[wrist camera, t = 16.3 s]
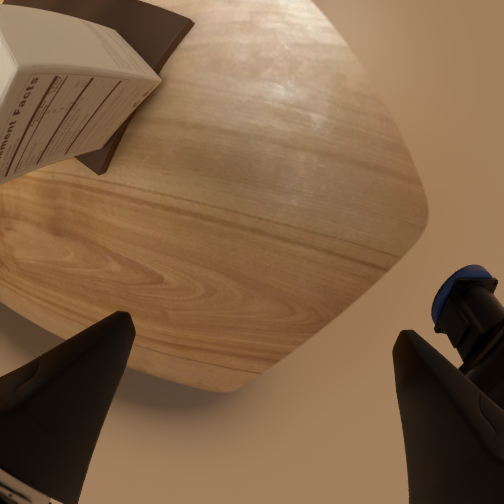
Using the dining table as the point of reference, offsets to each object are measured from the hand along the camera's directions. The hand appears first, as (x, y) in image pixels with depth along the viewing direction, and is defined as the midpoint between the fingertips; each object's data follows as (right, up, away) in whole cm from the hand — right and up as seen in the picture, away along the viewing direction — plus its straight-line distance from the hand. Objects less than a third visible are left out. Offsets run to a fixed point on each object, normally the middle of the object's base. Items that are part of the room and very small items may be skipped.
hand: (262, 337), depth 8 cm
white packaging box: (-11, +15, +8) cm, 20 cm away
